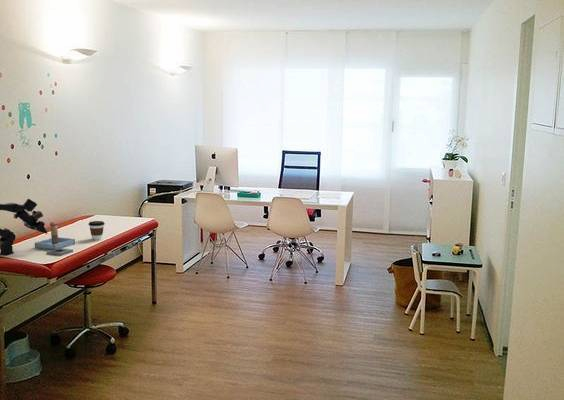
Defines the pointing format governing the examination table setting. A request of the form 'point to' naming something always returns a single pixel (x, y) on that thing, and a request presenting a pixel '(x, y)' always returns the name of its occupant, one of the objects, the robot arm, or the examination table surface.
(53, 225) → the pin
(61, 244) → the pin tray
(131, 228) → the examination table surface
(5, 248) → the robot arm
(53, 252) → the plate
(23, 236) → the examination table surface
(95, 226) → the coffee cup
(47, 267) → the examination table surface
